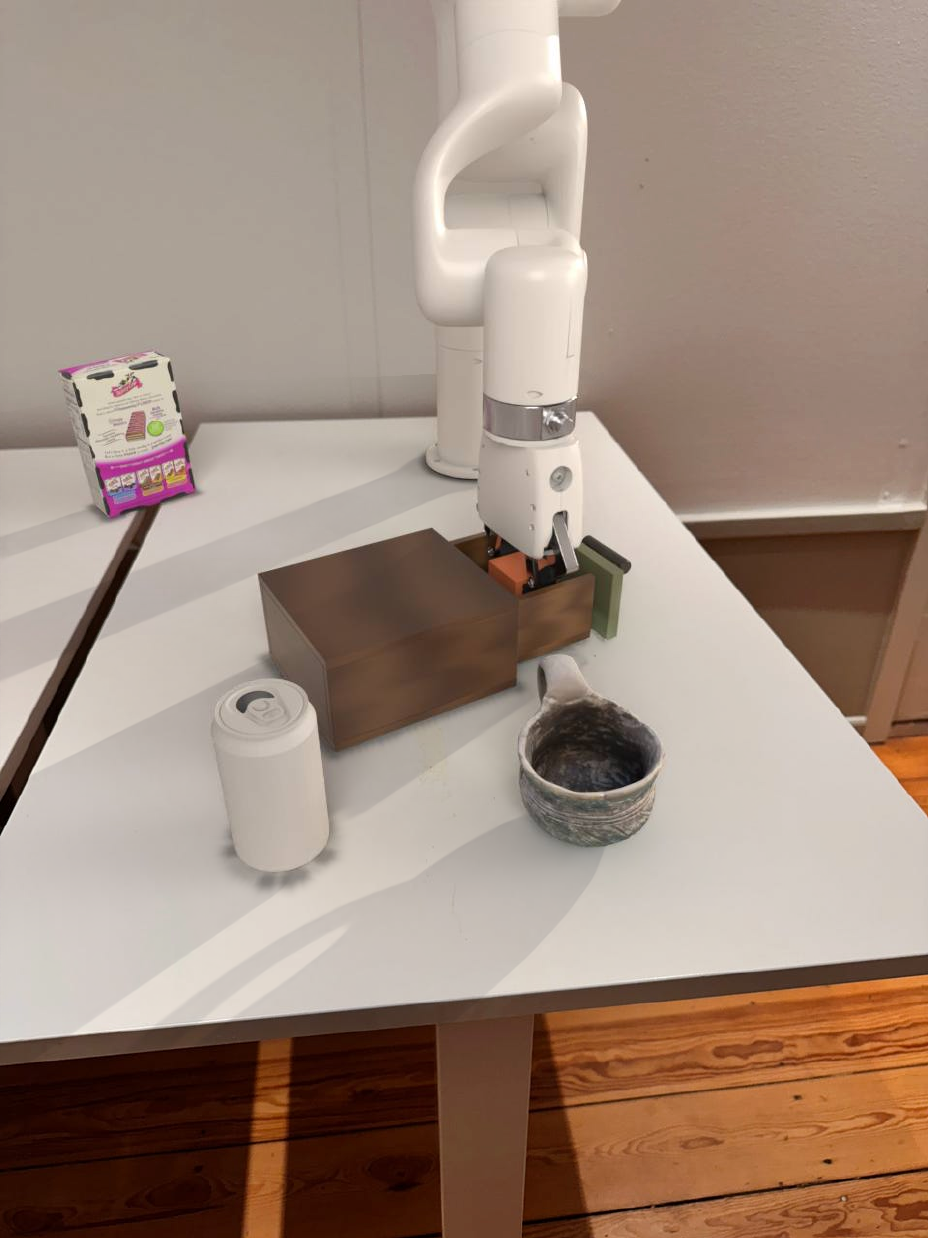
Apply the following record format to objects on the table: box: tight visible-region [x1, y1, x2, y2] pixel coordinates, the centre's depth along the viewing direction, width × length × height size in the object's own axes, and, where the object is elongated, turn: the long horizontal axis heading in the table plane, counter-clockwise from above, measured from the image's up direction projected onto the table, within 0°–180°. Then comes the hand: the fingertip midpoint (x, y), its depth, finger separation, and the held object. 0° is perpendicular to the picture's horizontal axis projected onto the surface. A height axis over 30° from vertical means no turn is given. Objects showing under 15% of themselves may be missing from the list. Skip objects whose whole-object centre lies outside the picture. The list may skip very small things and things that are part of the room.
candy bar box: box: [57, 349, 197, 519], centre depth 101 cm, size 11×5×16 cm, turn 131°
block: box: [488, 551, 557, 597], centre depth 79 cm, size 4×4×4 cm
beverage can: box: [210, 677, 330, 873], centre depth 57 cm, size 6×6×12 cm
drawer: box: [448, 530, 632, 664], centre depth 80 cm, size 20×13×7 cm
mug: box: [517, 653, 666, 848], centre depth 60 cm, size 10×12×10 cm
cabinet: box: [257, 527, 520, 753], centre depth 74 cm, size 17×15×9 cm
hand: (521, 604), depth 81 cm, fingers closed on block, 4 cm apart
